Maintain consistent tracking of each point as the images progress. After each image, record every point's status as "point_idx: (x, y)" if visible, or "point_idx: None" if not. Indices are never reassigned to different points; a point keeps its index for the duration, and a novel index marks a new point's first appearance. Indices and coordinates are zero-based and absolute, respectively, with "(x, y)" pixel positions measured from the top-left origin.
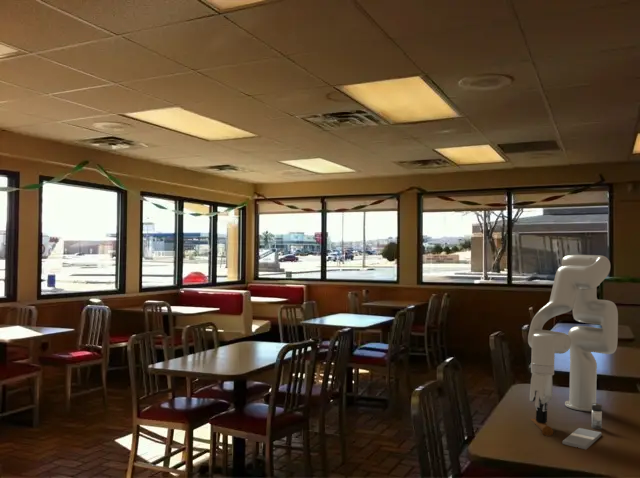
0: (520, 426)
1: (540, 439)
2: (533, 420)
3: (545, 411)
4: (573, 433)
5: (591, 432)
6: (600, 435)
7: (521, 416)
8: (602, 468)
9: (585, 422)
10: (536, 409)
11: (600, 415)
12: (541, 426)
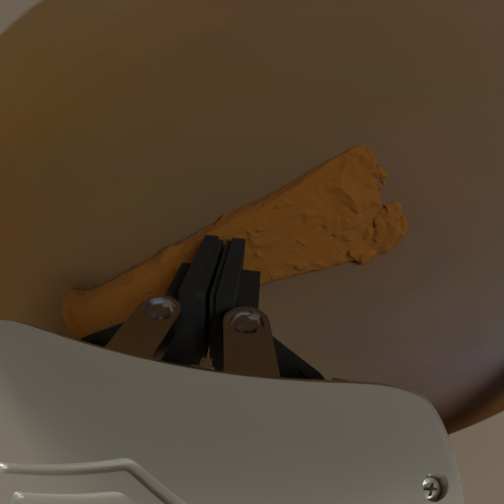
0: (101, 141)
1: (25, 287)
2: (297, 185)
3: (199, 361)
4: None
5: None
6: None
7: (390, 72)
8: None
9: (413, 389)
10: (142, 306)
11: None
12: (118, 285)
